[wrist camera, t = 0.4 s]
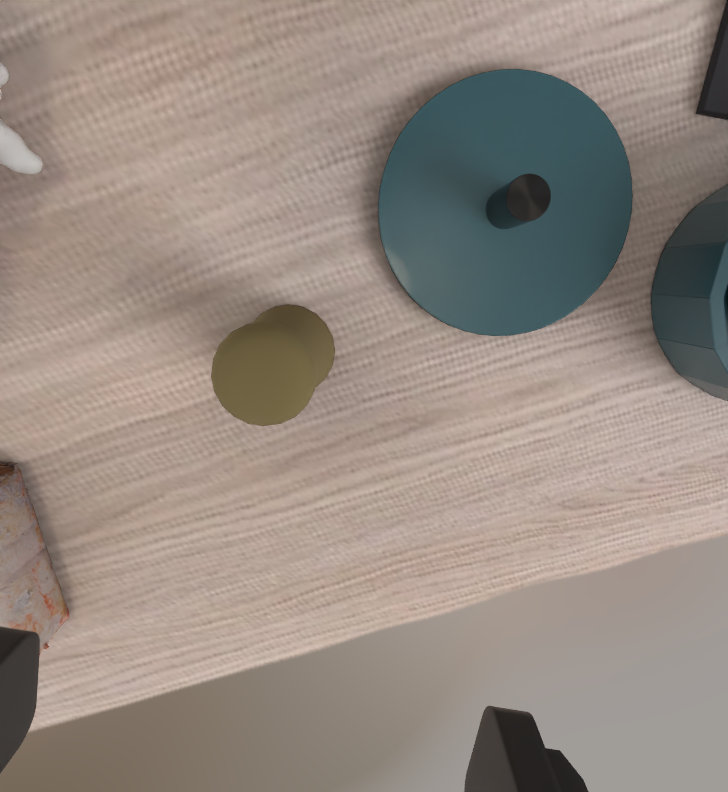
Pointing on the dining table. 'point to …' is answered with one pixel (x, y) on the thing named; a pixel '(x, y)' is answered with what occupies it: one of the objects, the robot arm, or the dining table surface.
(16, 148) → the molecular structure model
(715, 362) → the pot
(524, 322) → the pot lid
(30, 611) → the food item
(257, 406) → the olive game pawn
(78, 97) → the dining table surface
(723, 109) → the plate
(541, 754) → the robot arm
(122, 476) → the dining table surface
